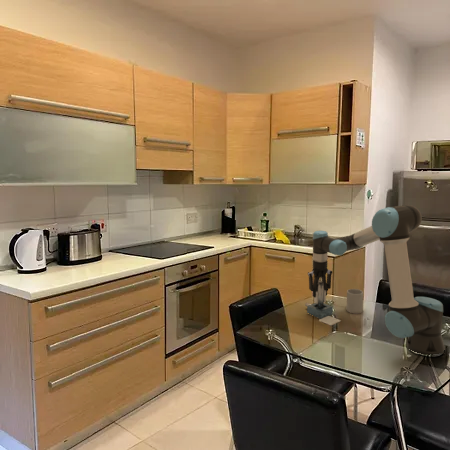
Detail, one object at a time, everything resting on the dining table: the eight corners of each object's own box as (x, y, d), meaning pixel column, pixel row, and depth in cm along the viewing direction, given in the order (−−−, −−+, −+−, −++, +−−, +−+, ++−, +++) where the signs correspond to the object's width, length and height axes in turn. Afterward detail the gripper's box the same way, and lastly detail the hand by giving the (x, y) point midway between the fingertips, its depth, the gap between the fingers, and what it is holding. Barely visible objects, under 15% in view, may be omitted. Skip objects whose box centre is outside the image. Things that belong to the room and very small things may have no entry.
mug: (365, 312, 219) (366, 293, 217) (351, 314, 218) (351, 295, 215) (354, 304, 231) (354, 285, 229) (340, 306, 229) (340, 287, 227)
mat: (340, 321, 210) (340, 320, 210) (330, 325, 206) (330, 325, 206) (328, 316, 217) (328, 315, 217) (318, 320, 212) (318, 319, 212)
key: (320, 305, 223) (320, 278, 220) (326, 310, 217) (326, 282, 214) (313, 306, 222) (313, 279, 219) (319, 311, 216) (319, 283, 213)
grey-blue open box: (332, 314, 219) (332, 306, 218) (321, 319, 214) (321, 311, 213) (312, 306, 230) (312, 298, 230) (300, 311, 225) (300, 303, 224)
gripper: (331, 256, 220) (330, 297, 224) (302, 259, 216) (302, 301, 220) (338, 260, 212) (337, 302, 217) (308, 263, 208) (308, 306, 213)
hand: (319, 301), depth 219 cm, fingers closed on key, 4 cm apart
